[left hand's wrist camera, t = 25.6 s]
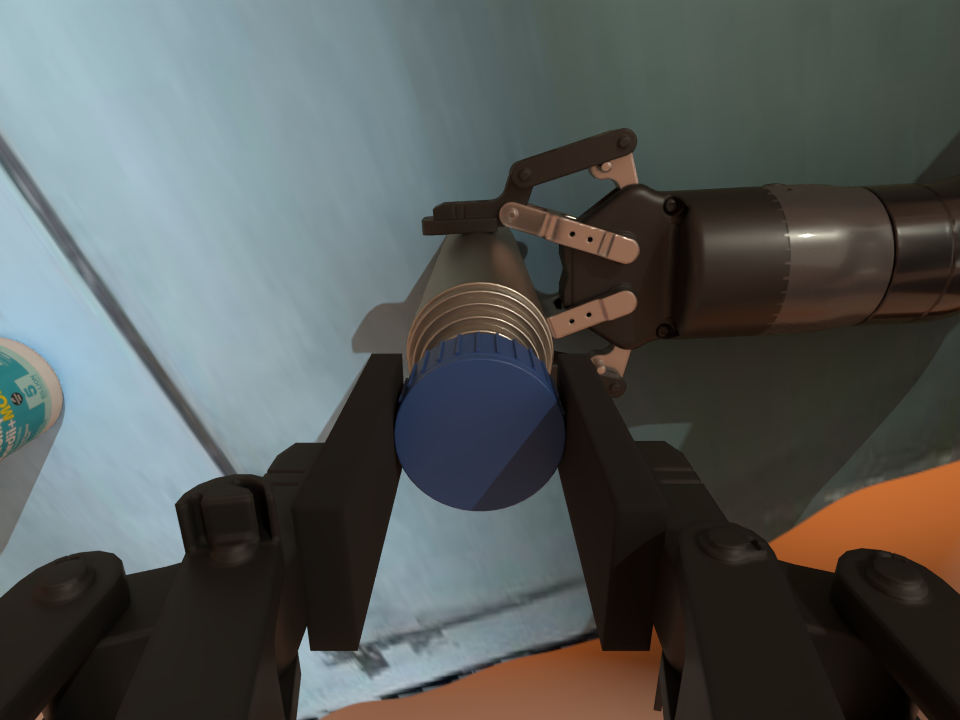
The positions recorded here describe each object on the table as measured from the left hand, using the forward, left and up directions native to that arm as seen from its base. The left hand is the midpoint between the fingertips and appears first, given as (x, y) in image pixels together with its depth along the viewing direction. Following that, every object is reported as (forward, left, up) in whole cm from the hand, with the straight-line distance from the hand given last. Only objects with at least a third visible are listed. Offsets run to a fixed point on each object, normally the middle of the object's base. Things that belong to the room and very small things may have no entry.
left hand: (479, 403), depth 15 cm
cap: (0, 0, +2) cm, 2 cm away
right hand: (-3, 0, -16) cm, 16 cm away
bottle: (0, 0, -23) cm, 23 cm away
